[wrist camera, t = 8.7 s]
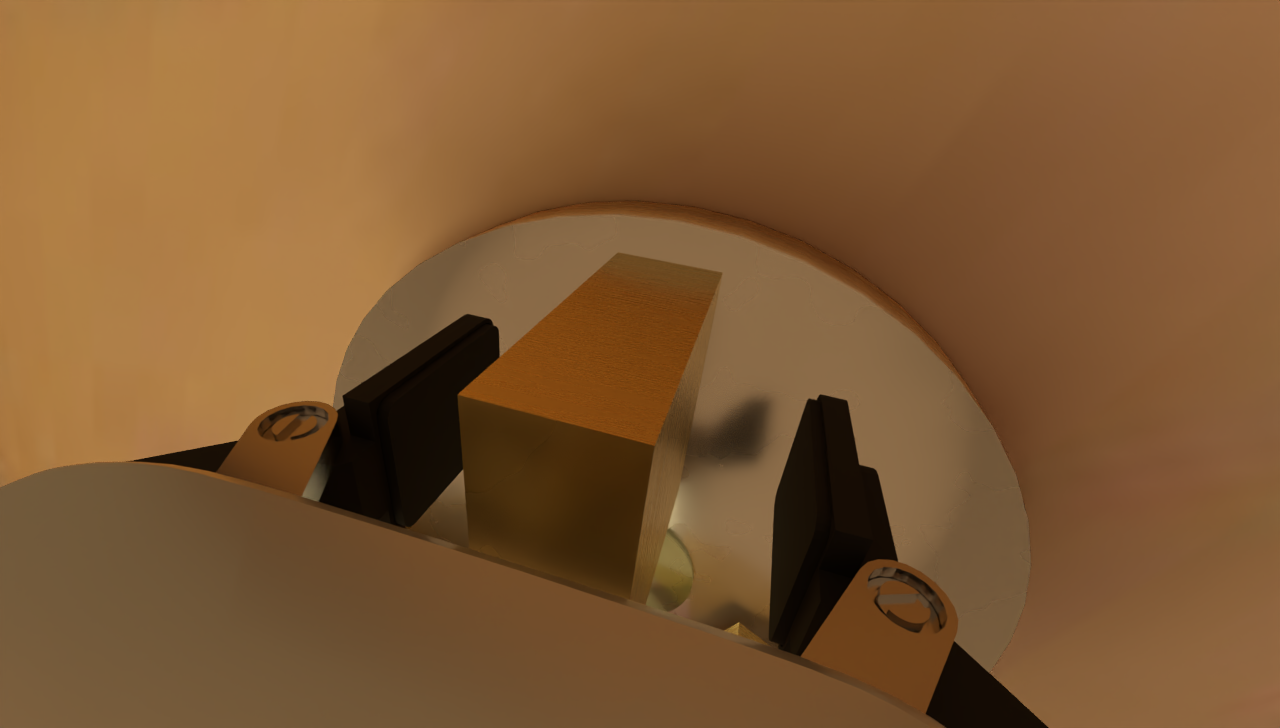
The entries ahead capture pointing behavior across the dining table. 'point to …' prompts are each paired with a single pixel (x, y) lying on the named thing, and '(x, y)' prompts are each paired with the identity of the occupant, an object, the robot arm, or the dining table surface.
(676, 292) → the gold flat block
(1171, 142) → the dining table surface
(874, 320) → the plate
